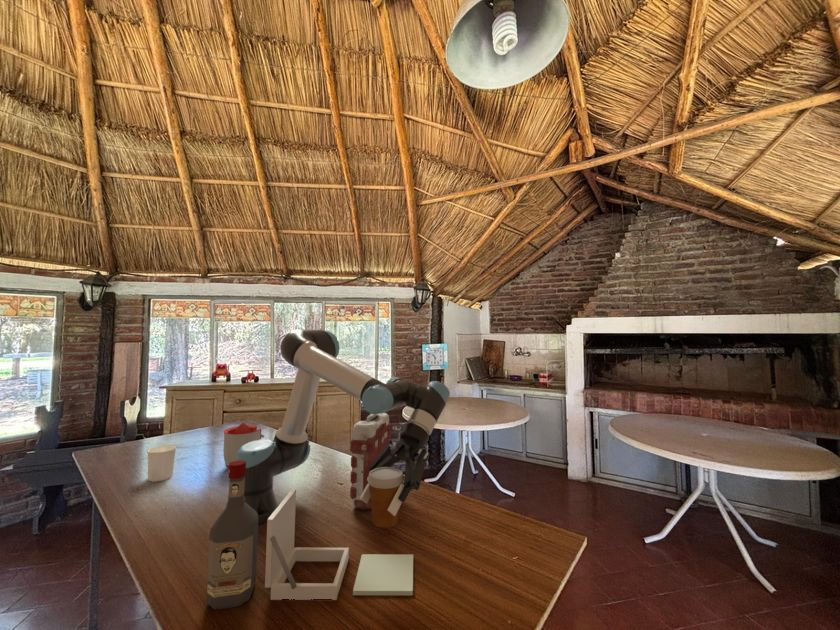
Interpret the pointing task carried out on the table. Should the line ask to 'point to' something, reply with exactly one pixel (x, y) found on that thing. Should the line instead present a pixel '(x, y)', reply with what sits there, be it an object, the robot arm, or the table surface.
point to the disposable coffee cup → (384, 494)
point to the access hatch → (296, 558)
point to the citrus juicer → (238, 440)
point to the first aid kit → (366, 453)
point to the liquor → (233, 547)
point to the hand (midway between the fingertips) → (376, 506)
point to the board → (384, 575)
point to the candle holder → (161, 462)
